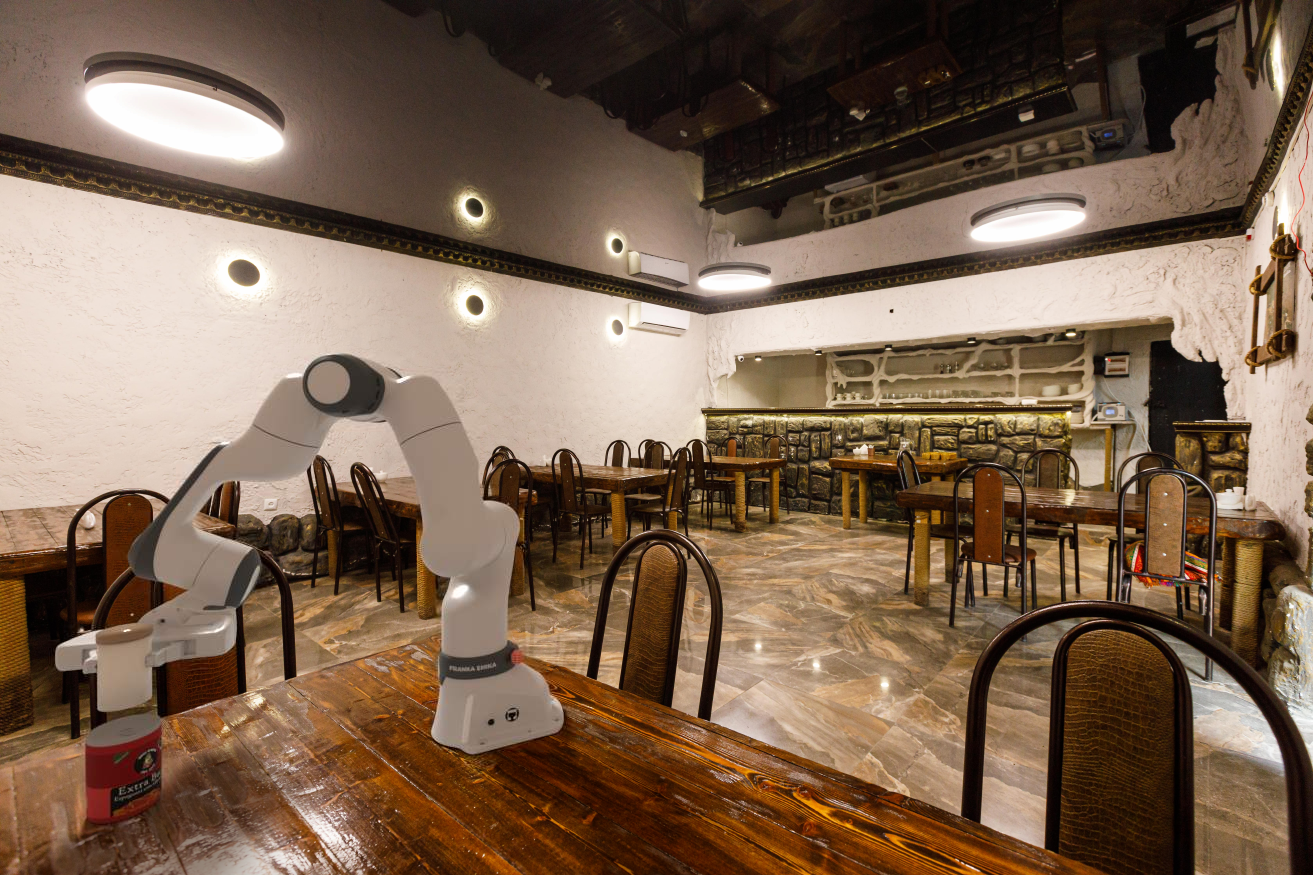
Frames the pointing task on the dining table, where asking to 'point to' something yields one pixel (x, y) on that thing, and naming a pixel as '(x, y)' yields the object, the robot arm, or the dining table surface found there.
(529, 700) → the robot arm
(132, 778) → the canned food
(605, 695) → the dining table surface
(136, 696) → the spice jar
